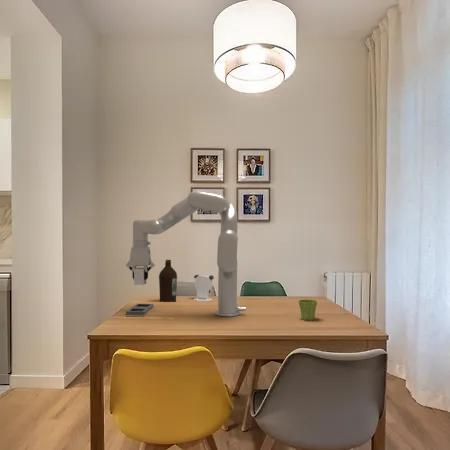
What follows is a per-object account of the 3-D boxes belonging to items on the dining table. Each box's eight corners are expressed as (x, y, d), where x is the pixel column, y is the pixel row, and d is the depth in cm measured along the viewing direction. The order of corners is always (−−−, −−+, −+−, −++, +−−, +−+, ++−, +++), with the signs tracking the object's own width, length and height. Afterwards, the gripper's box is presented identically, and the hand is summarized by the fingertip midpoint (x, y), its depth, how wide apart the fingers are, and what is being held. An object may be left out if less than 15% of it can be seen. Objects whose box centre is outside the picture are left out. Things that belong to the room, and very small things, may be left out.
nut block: (146, 283, 212) (146, 267, 212) (143, 284, 207) (143, 268, 207) (136, 283, 212) (136, 267, 212) (134, 284, 207) (134, 268, 207)
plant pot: (306, 321, 190) (306, 303, 190) (294, 318, 198) (294, 300, 198) (321, 320, 194) (322, 301, 194) (309, 316, 203) (309, 298, 203)
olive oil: (156, 303, 236) (156, 260, 236) (162, 300, 246) (162, 259, 247) (173, 304, 234) (174, 260, 234) (179, 301, 244) (179, 259, 245)
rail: (153, 308, 221) (153, 303, 221) (144, 317, 199) (144, 311, 199) (137, 308, 221) (137, 303, 222) (125, 316, 199) (125, 311, 200)
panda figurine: (215, 298, 254) (215, 274, 254) (210, 301, 243) (210, 276, 243) (196, 297, 257) (196, 273, 257) (191, 300, 246) (191, 275, 246)
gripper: (158, 244, 213) (158, 278, 213) (126, 243, 214) (126, 278, 214) (154, 244, 205) (154, 280, 205) (121, 244, 206) (121, 280, 206)
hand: (140, 279), depth 209 cm, fingers closed on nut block, 5 cm apart
